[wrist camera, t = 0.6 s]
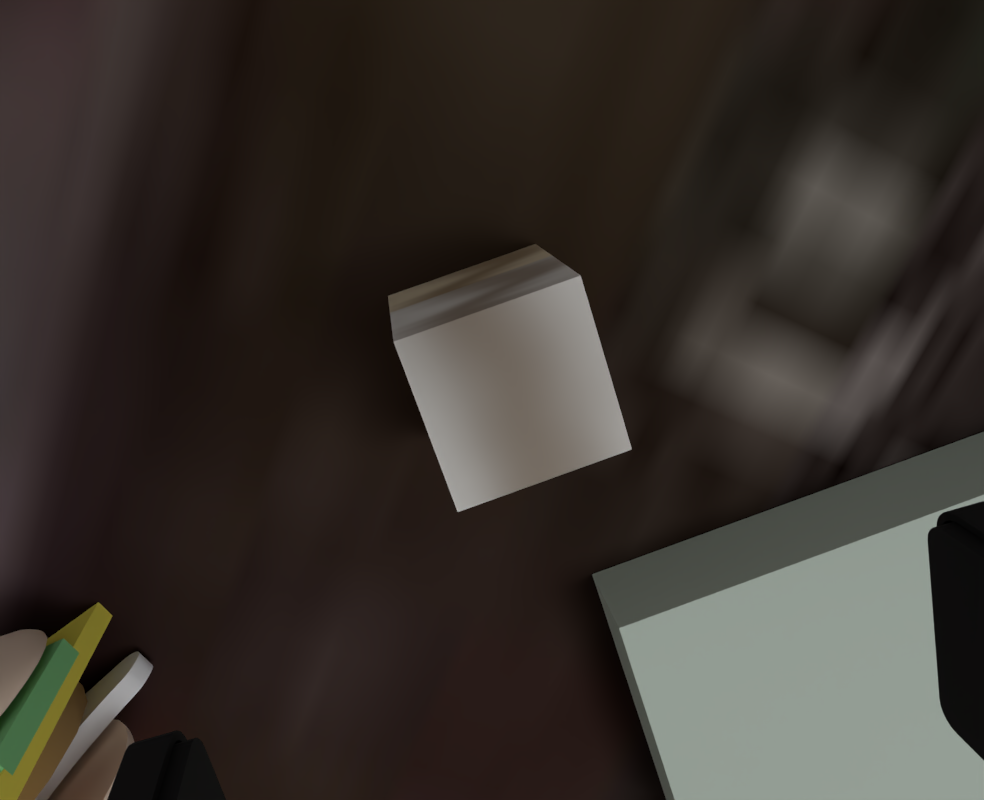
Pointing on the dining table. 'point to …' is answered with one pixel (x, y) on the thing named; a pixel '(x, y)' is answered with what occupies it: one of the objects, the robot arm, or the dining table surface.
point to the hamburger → (62, 712)
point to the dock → (801, 645)
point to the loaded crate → (507, 374)
